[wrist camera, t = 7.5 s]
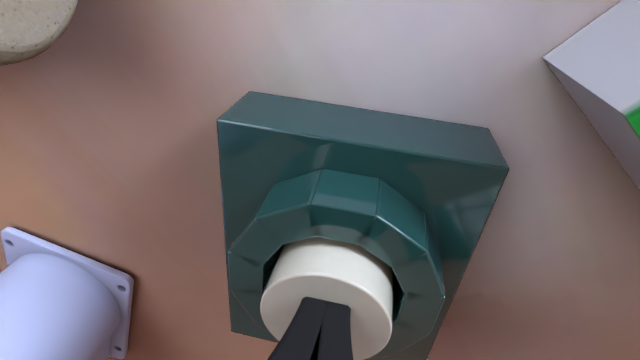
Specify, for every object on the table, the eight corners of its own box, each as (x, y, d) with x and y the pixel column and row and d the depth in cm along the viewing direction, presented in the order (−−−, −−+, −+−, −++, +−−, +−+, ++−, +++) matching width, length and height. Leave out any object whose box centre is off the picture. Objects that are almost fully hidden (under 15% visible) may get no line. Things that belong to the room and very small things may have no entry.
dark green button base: (417, 320, 19) (422, 424, 15) (252, 284, 20) (212, 372, 16) (489, 127, 13) (531, 208, 9) (249, 90, 14) (183, 147, 10)
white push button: (381, 319, 13) (378, 375, 12) (277, 296, 14) (259, 347, 12) (405, 238, 11) (406, 292, 9) (280, 214, 12) (258, 261, 10)
